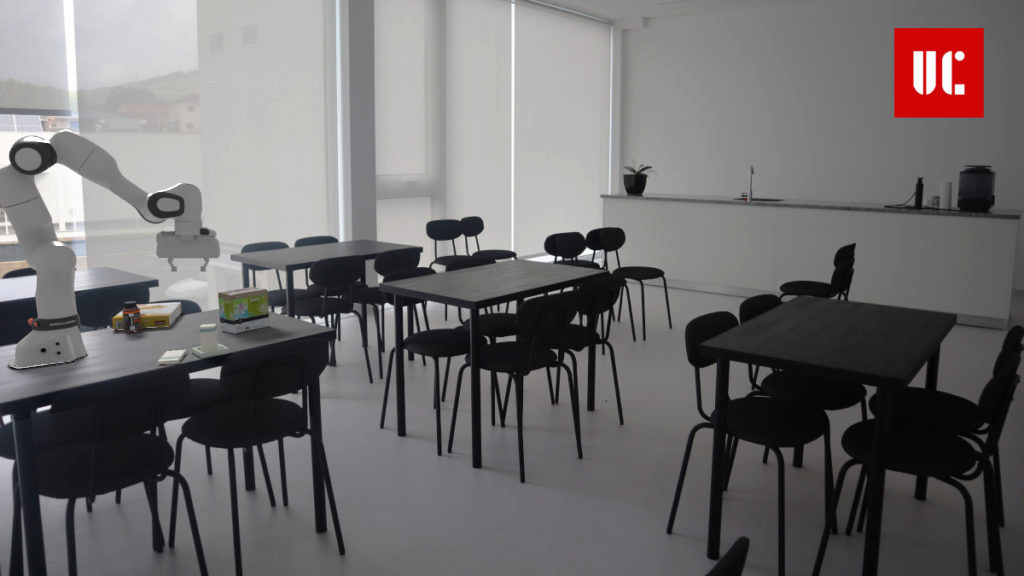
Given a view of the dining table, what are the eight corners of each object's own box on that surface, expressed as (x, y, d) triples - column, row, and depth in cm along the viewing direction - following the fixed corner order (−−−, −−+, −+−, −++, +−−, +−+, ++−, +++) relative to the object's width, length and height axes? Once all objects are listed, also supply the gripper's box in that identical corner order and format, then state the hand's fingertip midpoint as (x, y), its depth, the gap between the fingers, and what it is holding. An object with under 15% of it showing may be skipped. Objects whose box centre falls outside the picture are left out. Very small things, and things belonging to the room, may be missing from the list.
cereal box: (111, 317, 290) (128, 303, 317) (112, 332, 291) (129, 316, 318) (169, 314, 295) (181, 300, 322) (170, 329, 296) (182, 313, 323)
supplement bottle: (137, 333, 287) (133, 303, 285) (121, 333, 287) (118, 303, 285) (145, 329, 293) (141, 300, 291) (129, 329, 293) (126, 300, 291)
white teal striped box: (201, 353, 255) (199, 327, 253) (204, 350, 258) (201, 324, 257) (216, 352, 255) (214, 326, 254) (218, 349, 259) (216, 323, 258)
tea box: (235, 334, 282) (232, 294, 280) (220, 331, 288) (216, 292, 286) (270, 326, 294) (267, 288, 291) (254, 323, 300) (251, 285, 297)
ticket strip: (157, 365, 244) (157, 360, 244) (167, 354, 257) (167, 350, 257) (178, 363, 245) (177, 359, 245) (186, 352, 258) (186, 348, 258)
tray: (201, 358, 251) (201, 353, 250) (191, 353, 257) (191, 348, 257) (229, 353, 257) (228, 347, 256) (218, 348, 263) (218, 343, 263)
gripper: (153, 230, 260) (153, 271, 260) (217, 230, 264) (217, 271, 263) (158, 231, 266) (158, 271, 266) (221, 232, 270) (221, 271, 270)
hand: (188, 271), depth 265 cm, fingers open, 8 cm apart
